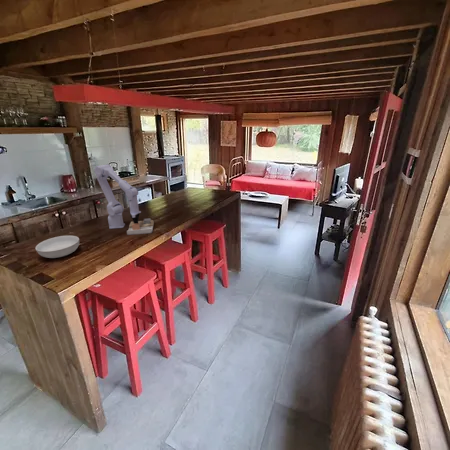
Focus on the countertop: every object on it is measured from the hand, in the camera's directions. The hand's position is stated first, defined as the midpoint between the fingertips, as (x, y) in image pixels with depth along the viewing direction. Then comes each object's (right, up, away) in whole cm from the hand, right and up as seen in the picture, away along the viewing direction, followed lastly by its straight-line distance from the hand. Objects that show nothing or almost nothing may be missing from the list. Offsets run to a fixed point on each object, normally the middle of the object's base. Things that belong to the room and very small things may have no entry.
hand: (136, 224), depth 178 cm
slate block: (+6, +1, +5) cm, 8 cm away
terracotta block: (+1, -2, -2) cm, 3 cm away
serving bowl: (-31, -17, -34) cm, 49 cm away
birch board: (+2, -2, +5) cm, 6 cm away
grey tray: (+4, -5, -4) cm, 8 cm away
